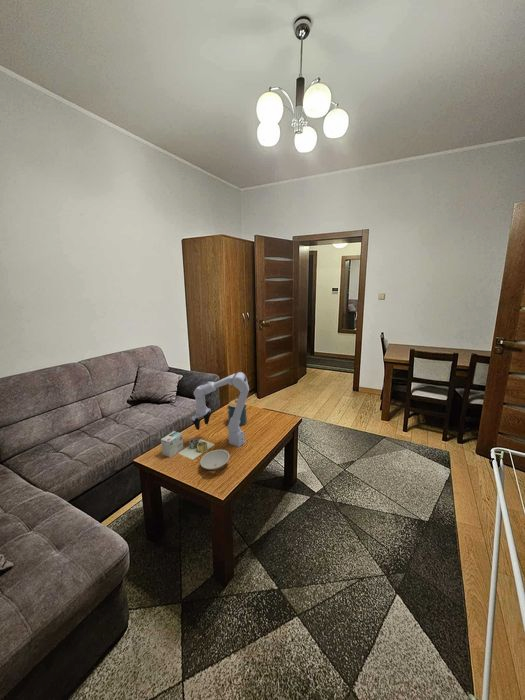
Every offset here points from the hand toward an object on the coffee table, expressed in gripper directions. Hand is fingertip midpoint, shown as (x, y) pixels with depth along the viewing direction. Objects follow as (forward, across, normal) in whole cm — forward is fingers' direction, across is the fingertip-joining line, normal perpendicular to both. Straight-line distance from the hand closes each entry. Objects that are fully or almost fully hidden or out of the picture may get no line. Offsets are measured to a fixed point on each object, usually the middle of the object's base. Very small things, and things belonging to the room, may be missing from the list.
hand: (202, 426), depth 177 cm
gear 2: (+9, +8, +7) cm, 14 cm away
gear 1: (+9, +8, +1) cm, 12 cm away
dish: (+10, +15, +23) cm, 30 cm away
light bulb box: (+10, +18, -7) cm, 22 cm away
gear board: (+10, +9, +4) cm, 14 cm away
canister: (+10, -31, +3) cm, 33 cm away
